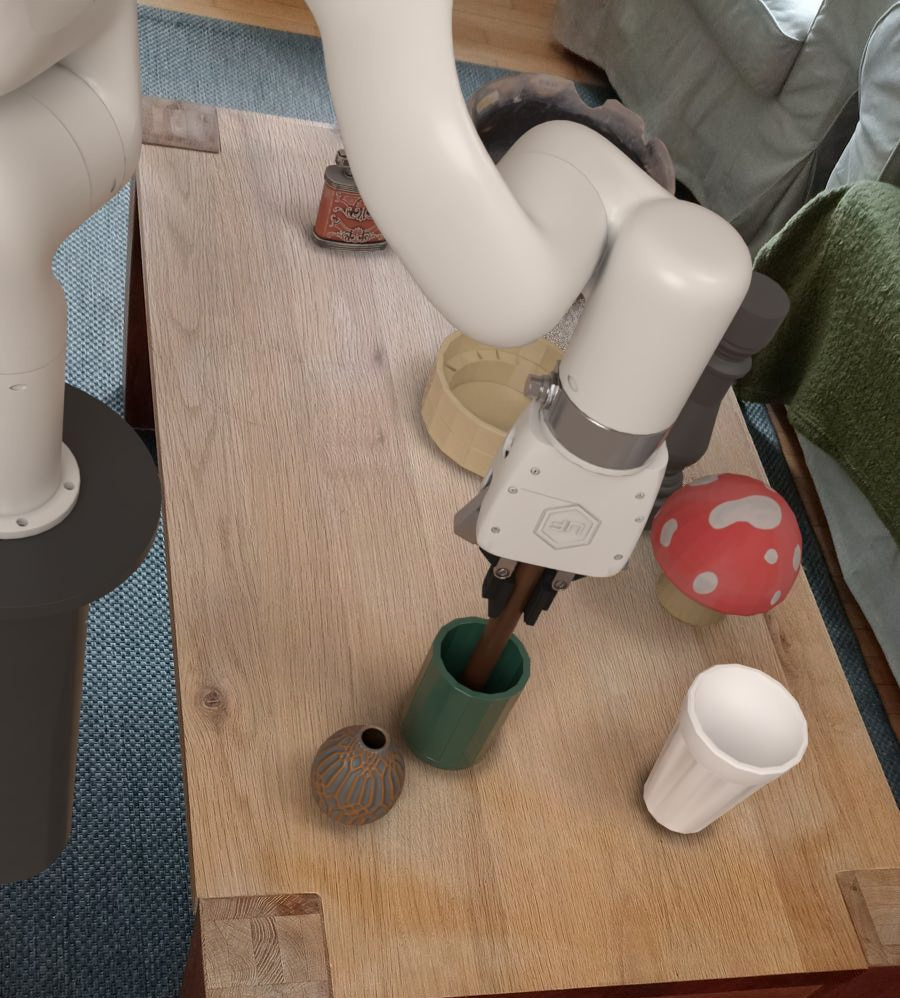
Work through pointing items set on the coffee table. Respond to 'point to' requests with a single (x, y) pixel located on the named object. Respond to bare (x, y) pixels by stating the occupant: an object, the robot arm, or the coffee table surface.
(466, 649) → the crock
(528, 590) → the stick
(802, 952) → the coffee table surface
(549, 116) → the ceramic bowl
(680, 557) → the decorative mushroom
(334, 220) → the lighter
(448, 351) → the mixing bowl
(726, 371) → the candle holder
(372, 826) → the coffee table surface
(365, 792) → the vase
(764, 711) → the cup
